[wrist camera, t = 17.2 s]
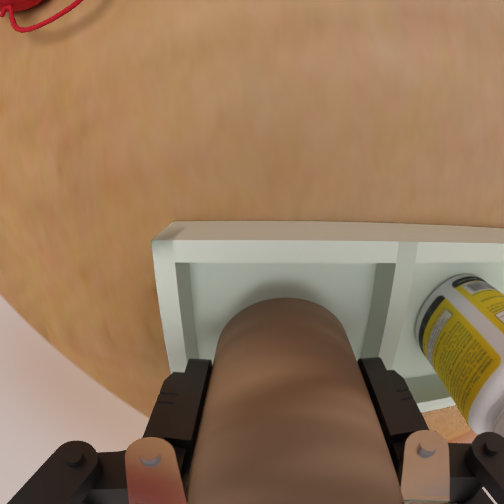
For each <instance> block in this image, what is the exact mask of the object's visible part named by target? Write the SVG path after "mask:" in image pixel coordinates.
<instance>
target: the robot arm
mask: <svg viewBox="0 0 504 504" xmlns="http://www.w3.org/2000/svg"><path fill="white" fill-rule="evenodd" d="M357 363H358V365H359V368H360V371H361V373H362V376H363V379H364V381H365V384H366V387H367V390H368V392H369V395H370V398H371V401H372V403H373V406H374V409H375V412H376V415H377V418H378V421H379V423H380V426H381V429H382V432H383V435H384V438H385V441H386V444H387V447H388V450H389V453H390V456H391V459H392V462H393V466H394V469H395V472H396V475H397V478H398V482H399V485H400V489H401V492H402V495H403V499H404V502H402V503H403V504H494V503H493V502H492V501H491V499H490V498H489V497H488V496H487V494H486V493H485V492H484V490H483V489H482V487H483V486H484V487H485V488H486V490H487V491H488V492H489V494H490V495H491V496H492V497H493V499H494V500H495V501H496V502H497V503H498V504H504V438H503V437H502V436H501V435H499V434H497V433H494V432H484V433H481V434H479V435H478V436H477V437H476V438H475V439H474V441H473V442H472V444H465V443H464V444H463V443H461V444H460V443H447V441H446V439H445V438H444V437H443V436H442V435H440V434H439V433H437V432H435V431H431V430H429V429H428V426H427V424H426V422H425V420H424V418H423V416H422V414H421V412H420V410H419V408H418V406H417V404H416V402H415V400H414V399H413V396H412V394H411V392H410V391H409V388H408V386H407V384H406V382H405V380H404V378H403V377H402V376H401V375H399V374H398V373H397V372H396V371H395V370H387V369H386V367H385V365H384V363H383V361H382V359H381V358H380V357H373V358H360V359H358V361H357ZM211 370H212V361H211V359H193V358H190V359H189V360H188V363H187V366H186V369H185V372H173V373H172V374H171V375H170V376H169V377H168V378H167V379H166V380H164V382H163V385H162V388H161V390H160V394H159V395H158V398H157V402H156V403H155V406H154V409H153V411H152V414H151V417H150V419H149V422H148V425H147V427H146V430H145V433H144V435H143V437H142V438H141V439H139V440H136V441H135V442H133V443H132V444H131V445H130V446H129V447H128V448H127V450H124V451H119V452H102V453H97V452H96V450H95V449H94V448H93V447H92V446H91V445H90V444H88V443H86V442H83V441H70V442H67V443H64V444H63V445H61V446H60V447H59V448H58V449H57V450H56V451H55V452H54V453H53V454H52V455H51V456H50V457H49V458H48V460H47V461H46V462H45V463H44V464H43V465H42V466H41V467H40V468H39V469H38V471H37V472H36V473H35V474H34V475H33V476H32V477H31V478H30V479H29V480H28V481H27V482H26V483H25V485H24V486H23V487H22V488H21V489H20V490H19V491H18V492H17V493H16V495H14V497H13V498H12V499H11V500H10V501H9V502H8V503H7V504H187V500H186V493H185V491H186V486H187V481H188V477H189V472H190V467H191V462H192V458H193V453H194V448H195V443H196V439H197V434H198V429H199V425H200V420H201V415H202V411H203V406H204V402H205V397H206V392H207V388H208V383H209V379H210V374H211Z"/></svg>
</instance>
